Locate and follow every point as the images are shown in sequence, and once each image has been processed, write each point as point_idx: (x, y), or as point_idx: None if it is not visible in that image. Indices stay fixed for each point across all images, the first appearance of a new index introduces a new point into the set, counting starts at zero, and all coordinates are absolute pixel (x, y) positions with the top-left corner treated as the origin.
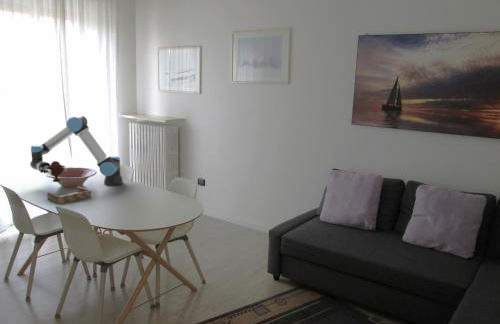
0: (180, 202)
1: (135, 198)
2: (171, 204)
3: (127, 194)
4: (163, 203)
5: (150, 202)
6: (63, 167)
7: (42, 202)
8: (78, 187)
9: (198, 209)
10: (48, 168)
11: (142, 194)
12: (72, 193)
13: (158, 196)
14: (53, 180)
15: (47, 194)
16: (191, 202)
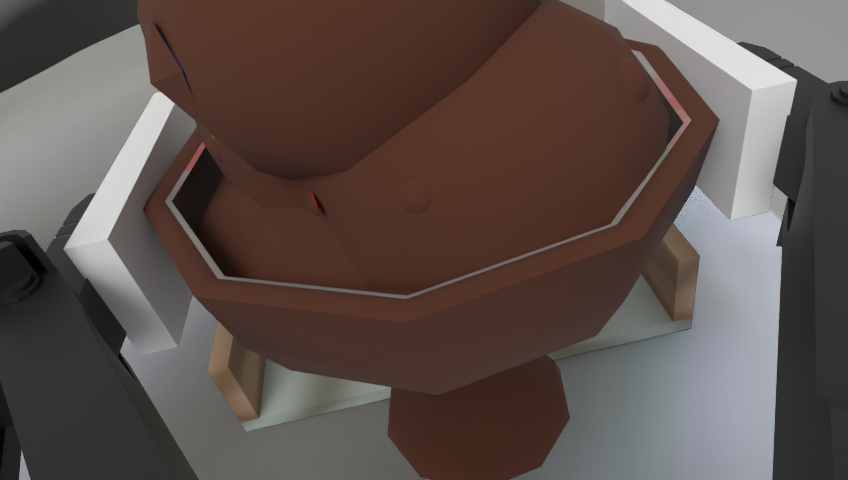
0: (79, 72)
1: (117, 143)
2: (125, 63)
3: (50, 213)
4: (128, 74)
5: (144, 89)
6: (161, 138)
7: (751, 251)
8: (233, 337)
9: (134, 27)
10: (667, 127)
11: (9, 187)
12: (340, 387)
13: (18, 141)
14: (545, 375)
15: (693, 270)
16: (59, 67)
